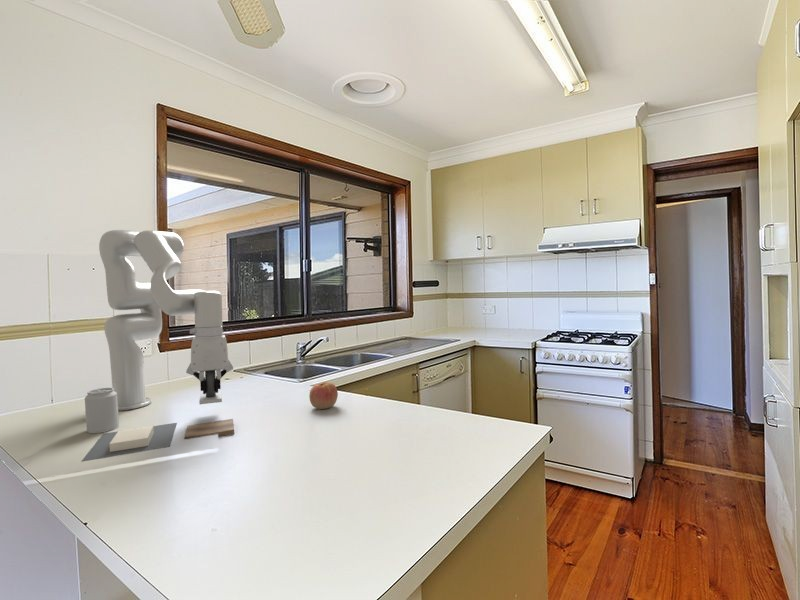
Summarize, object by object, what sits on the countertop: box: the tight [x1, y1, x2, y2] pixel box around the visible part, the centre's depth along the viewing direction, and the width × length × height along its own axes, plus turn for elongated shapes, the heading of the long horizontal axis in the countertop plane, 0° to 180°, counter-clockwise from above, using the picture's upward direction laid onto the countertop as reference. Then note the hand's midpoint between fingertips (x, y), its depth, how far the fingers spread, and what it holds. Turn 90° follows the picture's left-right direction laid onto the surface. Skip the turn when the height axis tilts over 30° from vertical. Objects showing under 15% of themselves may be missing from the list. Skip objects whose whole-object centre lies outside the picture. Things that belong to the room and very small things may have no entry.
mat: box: [80, 422, 178, 462], centre depth 110 cm, size 20×18×1 cm
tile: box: [109, 425, 154, 452], centre depth 108 cm, size 2×8×10 cm
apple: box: [308, 381, 339, 410], centre depth 134 cm, size 9×9×8 cm
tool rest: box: [184, 418, 235, 440], centre depth 116 cm, size 10×12×1 cm
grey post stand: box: [199, 370, 223, 405], centre depth 127 cm, size 8×6×9 cm
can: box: [84, 387, 120, 434], centre depth 119 cm, size 8×8×12 cm
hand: (210, 391), depth 127 cm, fingers closed on grey post stand, 2 cm apart
